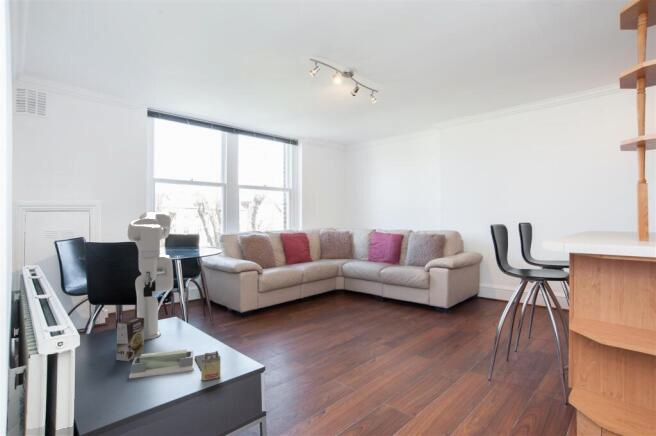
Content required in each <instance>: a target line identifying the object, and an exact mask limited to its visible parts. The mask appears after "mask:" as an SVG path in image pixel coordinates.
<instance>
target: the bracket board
mask: <svg viewBox="0 0 656 436" xmlns="http://www.w3.org/2000/svg"><path fill="white" fill-rule="evenodd" d="M194 370H195V356H194V350H187V357H184V358H180V366H172V367H164V368H156V369H148V370H146V362H142V363H140V356H137V357H135V358H134V359H133V361H132V363H131V371H130V373H129V376H128V379H136V378H143V377H150V376H158V375H166V374H174V373H181V372H188V371H194Z"/></svg>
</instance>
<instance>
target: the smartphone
mask: <svg viewBox="0 0 656 436" xmlns="http://www.w3.org/2000/svg"><path fill="white" fill-rule="evenodd" d="M194 357H195V359H194V362H195V363H196V365H197V366H198V368H199V371H200V372H202V358H204V357H205V353H204V354H200V355H194Z"/></svg>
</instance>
